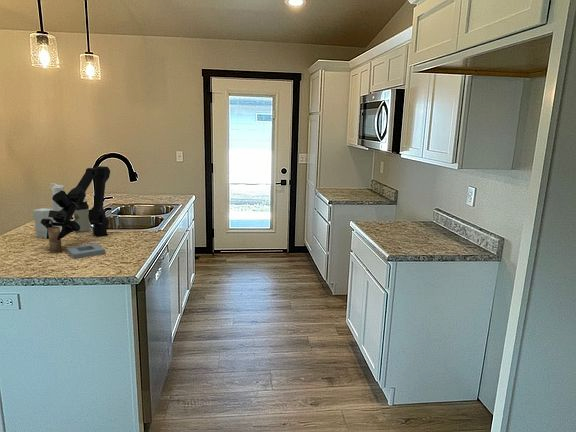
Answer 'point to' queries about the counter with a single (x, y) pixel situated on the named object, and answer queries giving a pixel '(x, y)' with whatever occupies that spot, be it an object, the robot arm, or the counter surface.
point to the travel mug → (82, 216)
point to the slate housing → (85, 250)
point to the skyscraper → (54, 205)
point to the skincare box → (38, 216)
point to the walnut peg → (54, 240)
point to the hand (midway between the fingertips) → (52, 239)
